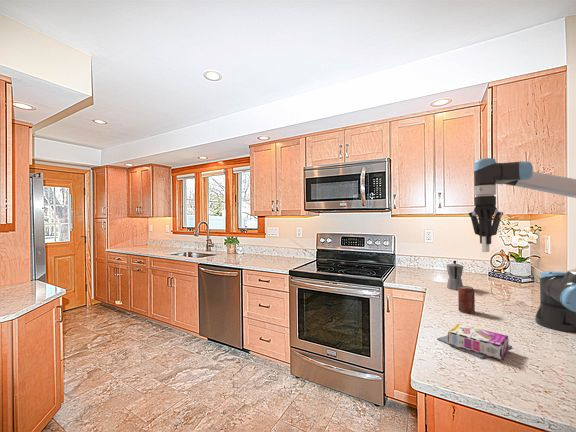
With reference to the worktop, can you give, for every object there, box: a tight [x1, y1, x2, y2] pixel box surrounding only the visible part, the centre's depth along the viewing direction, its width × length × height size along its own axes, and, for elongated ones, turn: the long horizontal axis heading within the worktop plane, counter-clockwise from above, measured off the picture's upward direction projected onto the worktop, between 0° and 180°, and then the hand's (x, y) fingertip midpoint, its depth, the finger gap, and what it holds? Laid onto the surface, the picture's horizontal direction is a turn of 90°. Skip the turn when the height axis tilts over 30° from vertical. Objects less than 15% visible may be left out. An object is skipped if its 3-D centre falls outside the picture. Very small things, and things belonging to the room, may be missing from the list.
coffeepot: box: [446, 260, 464, 291], centre depth 185 cm, size 15×9×18 cm, turn 153°
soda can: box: [457, 285, 476, 315], centre depth 143 cm, size 7×7×12 cm
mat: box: [436, 334, 513, 359], centre depth 108 cm, size 18×16×1 cm
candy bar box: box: [447, 323, 509, 360], centre depth 104 cm, size 11×5×16 cm
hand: (485, 251), depth 122 cm, fingers closed
